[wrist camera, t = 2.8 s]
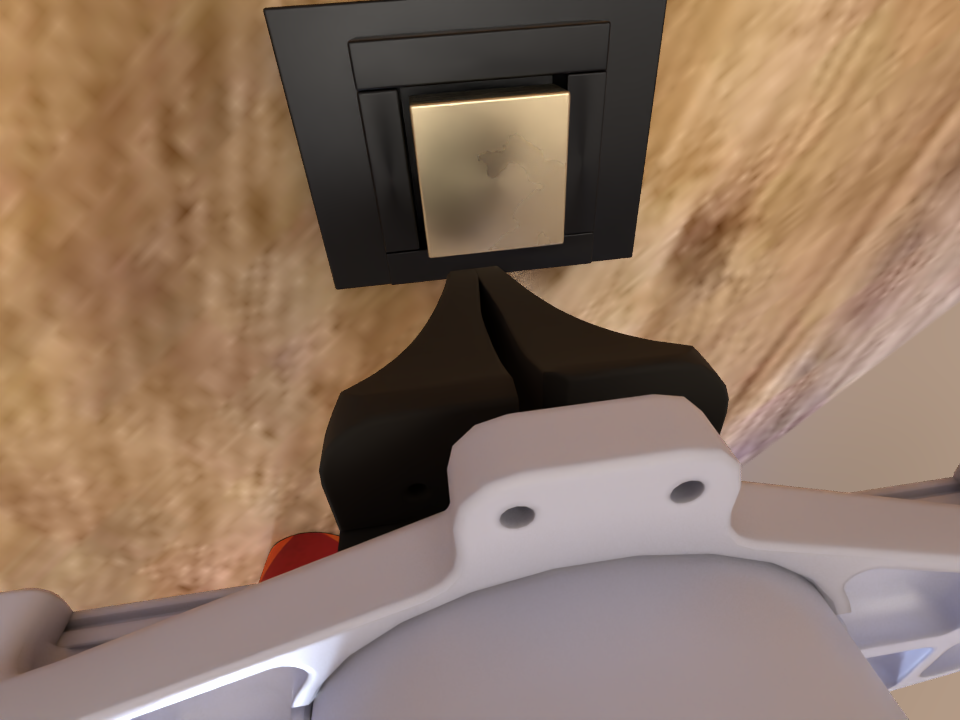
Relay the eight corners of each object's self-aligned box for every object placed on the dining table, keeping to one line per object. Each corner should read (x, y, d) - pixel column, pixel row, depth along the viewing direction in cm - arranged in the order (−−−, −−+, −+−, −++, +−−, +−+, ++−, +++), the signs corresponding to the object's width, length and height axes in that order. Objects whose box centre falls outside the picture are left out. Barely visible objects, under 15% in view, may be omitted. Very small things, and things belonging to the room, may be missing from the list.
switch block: (642, -19, 16) (700, -24, 13) (614, 237, 22) (650, 277, 19) (277, 7, 16) (245, 8, 12) (341, 266, 21) (330, 313, 18)
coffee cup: (220, 558, 31) (106, 903, 19) (318, 503, 29) (260, 846, 17) (314, 606, 36) (269, 908, 24) (404, 561, 34) (404, 864, 22)
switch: (555, 83, 15) (571, 91, 13) (551, 225, 17) (564, 244, 16) (408, 95, 14) (408, 104, 13) (426, 238, 17) (428, 259, 16)
